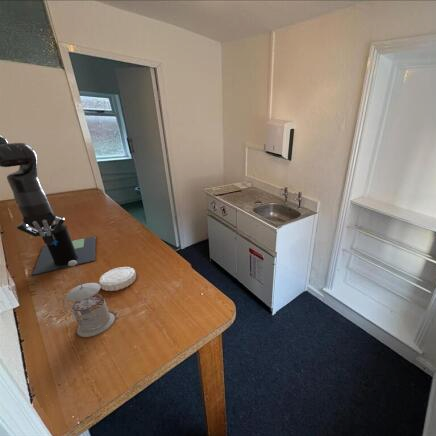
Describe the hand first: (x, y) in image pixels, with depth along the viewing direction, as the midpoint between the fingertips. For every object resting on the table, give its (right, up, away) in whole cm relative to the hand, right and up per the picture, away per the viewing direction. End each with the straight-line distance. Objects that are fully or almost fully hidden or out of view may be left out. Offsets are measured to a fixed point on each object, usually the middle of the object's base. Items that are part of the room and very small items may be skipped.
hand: (50, 243), depth 90 cm
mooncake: (+23, -16, +5) cm, 29 cm away
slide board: (-12, -7, +20) cm, 24 cm away
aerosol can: (-8, -9, +15) cm, 19 cm away
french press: (+28, -25, -14) cm, 41 cm away
